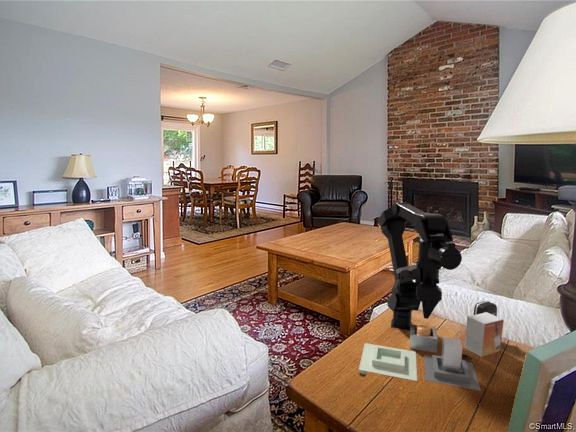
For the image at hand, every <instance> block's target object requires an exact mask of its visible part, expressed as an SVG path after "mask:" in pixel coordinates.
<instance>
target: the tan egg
mask: <svg viewBox="0 0 576 432" xmlns="http://www.w3.org/2000/svg"><path fill="white" fill-rule="evenodd" d="M429 327H430V326H427V325H423V324H421V325H419V326H417V334H418V335H425V336H430V331H431V329H430V328H429Z"/></svg>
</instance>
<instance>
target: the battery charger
mask: <svg viewBox="0 0 576 432" xmlns="http://www.w3.org/2000/svg"><path fill="white" fill-rule="evenodd" d="M484 312H487V313H490V314H492V315H494V316H497V315H498V306H497V304H496V303H494V302H490V301H489V300H482V301H480V302H477V303H476V304H475V305H474V308H473V315H477V314H481V313H484ZM497 317H498V316H497Z"/></svg>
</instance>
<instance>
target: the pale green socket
mask: <svg viewBox="0 0 576 432" xmlns="http://www.w3.org/2000/svg"><path fill="white" fill-rule="evenodd" d="M417 368H418V367H417V352H416V351H413V350H408V349H401V348H398V347H397V348H396V347H391V346H385V345H379V344H373V343H366V342H365V343H364V345H363V350H362V355H361V358H360V363H359V366H358V374H360V373H361V375H367V373H368V372H369V373H373V374H379V375H385V376H389V377H393V378H394V377H395V378H399V379H404V380H409V381H416V382H417V381H418V370H417Z"/></svg>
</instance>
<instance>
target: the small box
mask: <svg viewBox="0 0 576 432" xmlns="http://www.w3.org/2000/svg"><path fill="white" fill-rule="evenodd" d="M504 320H505V319H503V318H501V317H499V316H494V315H492V314H490V313H487V312H484V313H481V314H477V315H468V316H467V318H466V329H465V336H464V337H465V338H464V348H465V349H466V350H468V351H470V352H472V353H474V354H475V355H477V356H479V357H481V358H482V357H485V356H486V357H487V356H488V355H492V354H496V353H498V352H501V347H502V346H501V345H502V337H503V330H504V329H503V327H504Z"/></svg>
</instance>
